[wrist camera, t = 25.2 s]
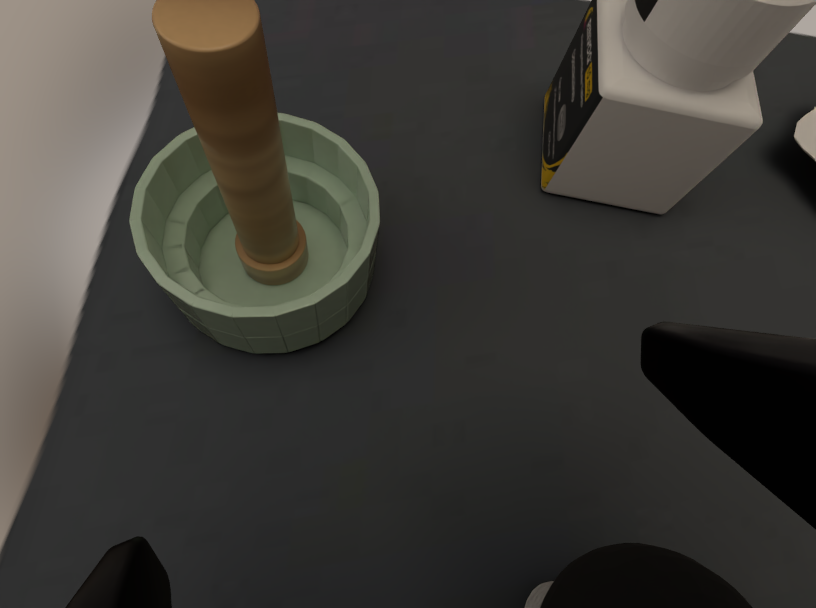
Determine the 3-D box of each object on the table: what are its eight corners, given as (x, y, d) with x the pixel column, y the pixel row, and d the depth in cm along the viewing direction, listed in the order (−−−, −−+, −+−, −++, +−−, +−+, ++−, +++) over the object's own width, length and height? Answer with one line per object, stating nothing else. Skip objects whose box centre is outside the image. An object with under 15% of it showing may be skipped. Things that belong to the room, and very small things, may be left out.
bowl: (376, 354, 22) (385, 314, 17) (164, 360, 20) (111, 319, 16) (369, 187, 25) (374, 116, 20) (186, 183, 24) (148, 107, 19)
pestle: (306, 286, 22) (267, 65, 11) (238, 285, 21) (124, 54, 10) (309, 229, 23) (277, -25, 12) (244, 226, 23) (148, -37, 12)
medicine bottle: (542, 96, 29) (663, -154, 18) (656, 120, 29) (842, -111, 18) (538, 193, 26) (679, -33, 15) (664, 218, 26) (890, 15, 15)
